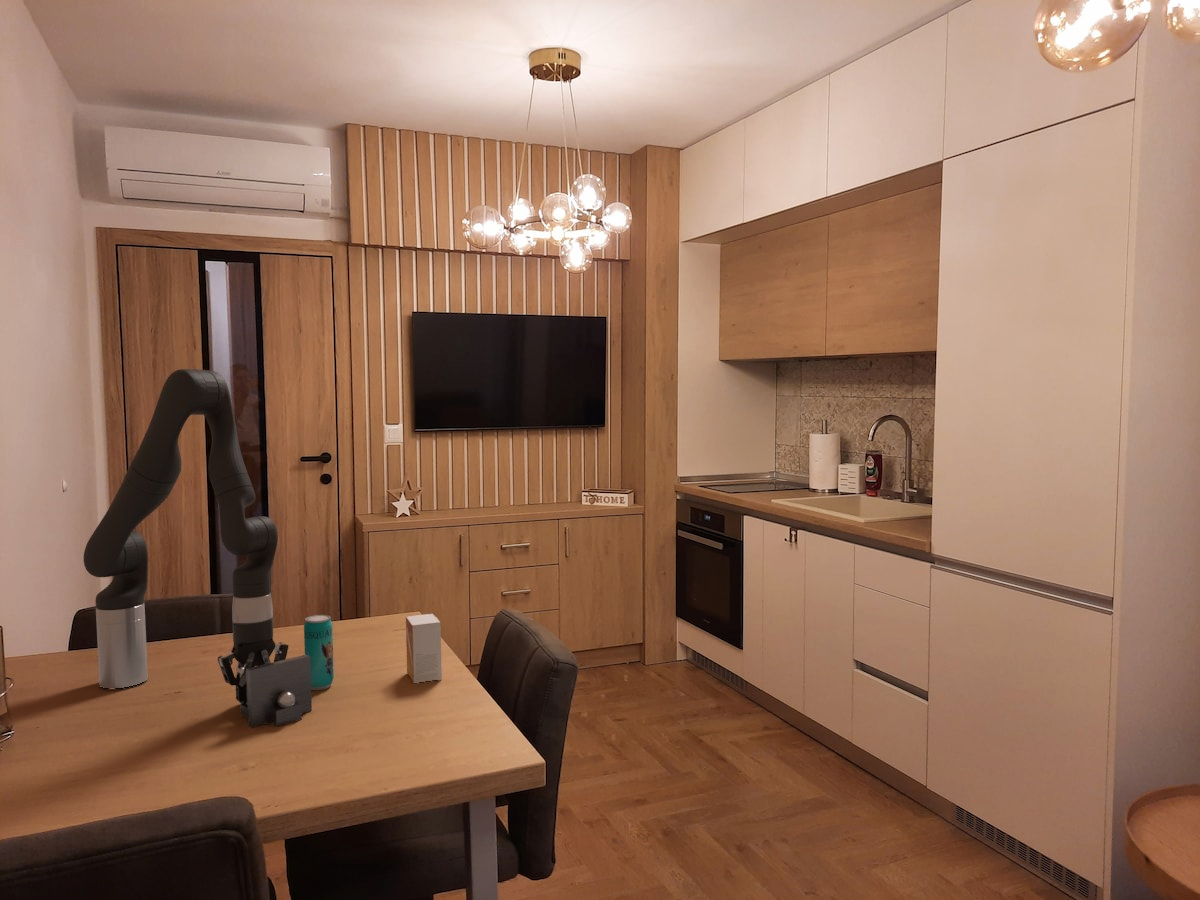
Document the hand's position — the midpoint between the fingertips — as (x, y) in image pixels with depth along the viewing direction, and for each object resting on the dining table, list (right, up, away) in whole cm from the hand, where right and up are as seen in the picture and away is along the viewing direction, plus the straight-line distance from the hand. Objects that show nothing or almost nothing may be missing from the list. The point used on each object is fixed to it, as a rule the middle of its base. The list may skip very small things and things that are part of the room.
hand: (255, 699), depth 172 cm
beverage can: (+10, -1, +10) cm, 14 cm away
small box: (+31, 0, +16) cm, 35 cm away
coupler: (+7, -1, -6) cm, 9 cm away
